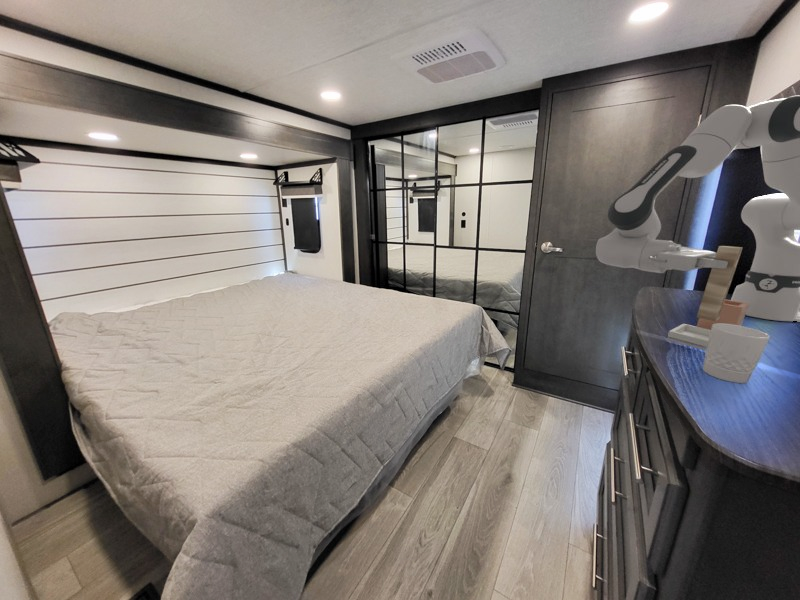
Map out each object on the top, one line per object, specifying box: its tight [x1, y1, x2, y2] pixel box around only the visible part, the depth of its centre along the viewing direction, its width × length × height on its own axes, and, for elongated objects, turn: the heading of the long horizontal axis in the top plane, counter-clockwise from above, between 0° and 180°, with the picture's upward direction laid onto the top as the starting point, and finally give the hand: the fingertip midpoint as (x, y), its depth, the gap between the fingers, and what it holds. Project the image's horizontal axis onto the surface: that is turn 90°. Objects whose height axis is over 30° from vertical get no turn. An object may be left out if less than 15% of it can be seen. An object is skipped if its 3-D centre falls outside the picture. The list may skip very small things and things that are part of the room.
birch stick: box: [696, 245, 743, 321], centre depth 75 cm, size 3×3×18 cm
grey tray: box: [666, 323, 711, 352], centre depth 79 cm, size 11×11×2 cm
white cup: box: [701, 323, 771, 384], centre depth 63 cm, size 8×8×10 cm
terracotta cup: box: [696, 299, 749, 330], centre depth 86 cm, size 7×7×9 cm
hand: (730, 264), depth 73 cm, fingers closed on birch stick, 3 cm apart
